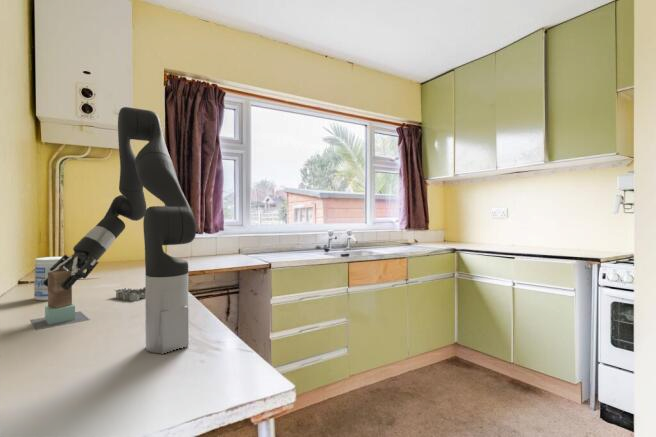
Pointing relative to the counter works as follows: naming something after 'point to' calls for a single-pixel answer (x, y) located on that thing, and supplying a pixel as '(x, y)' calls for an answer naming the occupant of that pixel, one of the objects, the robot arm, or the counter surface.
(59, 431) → the counter surface
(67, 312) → the plinth
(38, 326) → the mat
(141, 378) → the counter surface
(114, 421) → the counter surface
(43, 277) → the supplement tub
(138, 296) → the egg carton
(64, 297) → the pillar
